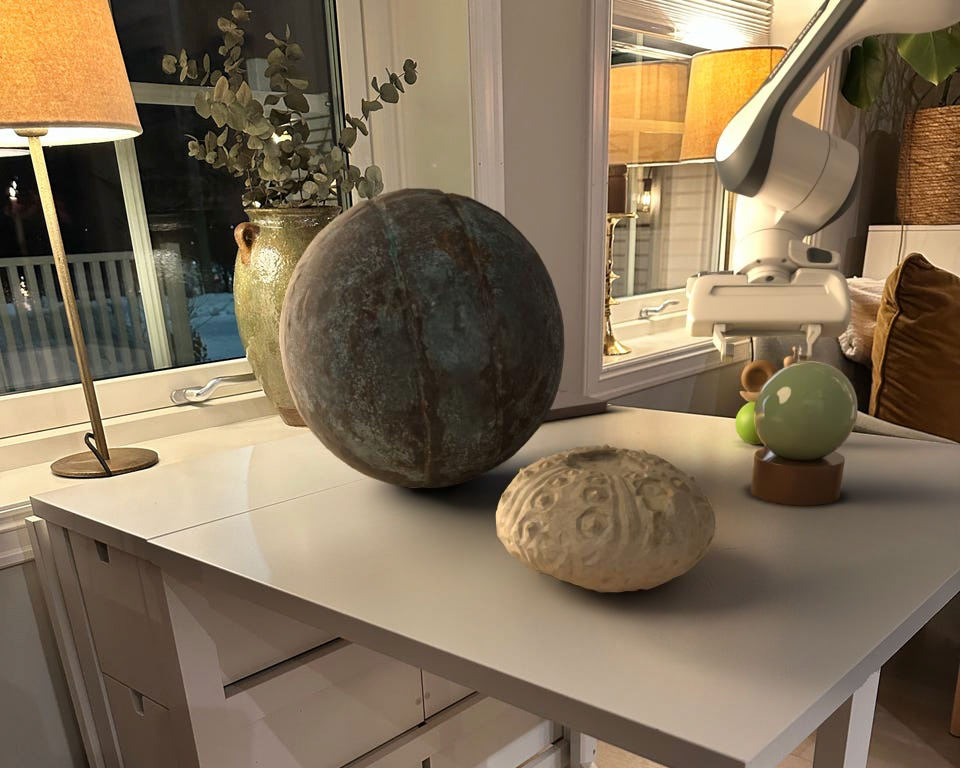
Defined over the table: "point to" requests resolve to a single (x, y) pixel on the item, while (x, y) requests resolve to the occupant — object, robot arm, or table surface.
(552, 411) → the notebook
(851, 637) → the table surface
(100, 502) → the table surface
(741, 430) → the snail figurine
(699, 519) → the decorative shell
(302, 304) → the metal sphere
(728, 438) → the table surface
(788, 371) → the ball stand
